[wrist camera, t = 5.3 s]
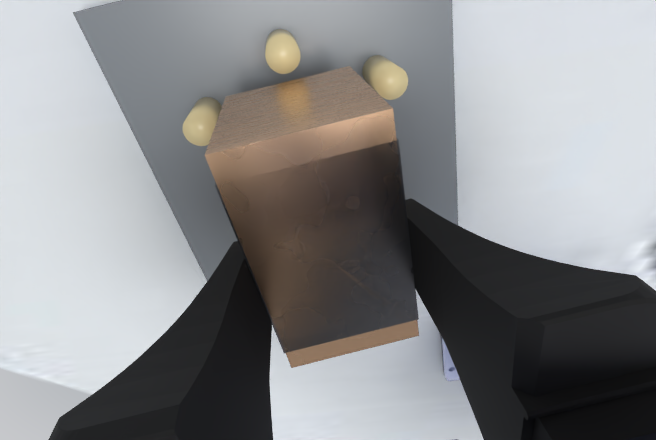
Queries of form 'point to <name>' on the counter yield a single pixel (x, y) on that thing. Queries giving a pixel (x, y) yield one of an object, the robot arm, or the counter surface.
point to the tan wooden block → (319, 211)
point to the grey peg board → (269, 69)
